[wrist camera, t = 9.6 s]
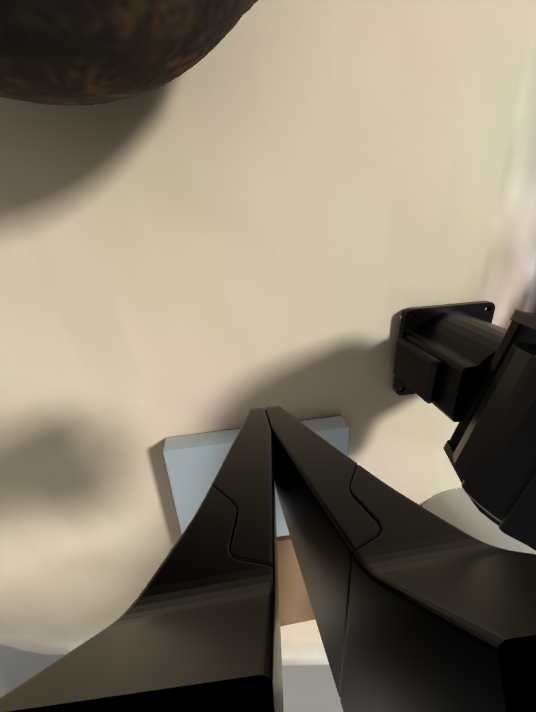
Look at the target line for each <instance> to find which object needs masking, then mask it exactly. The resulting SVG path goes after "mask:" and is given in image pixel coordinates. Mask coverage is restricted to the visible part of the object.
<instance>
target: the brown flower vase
mask: <svg viewBox="0 0 536 712" xmlns="http://www.w3.org/2000/svg"><path fill="white" fill-rule="evenodd" d="M257 1H258V0H0V97H5V98H10V99H16V100H22V101H28V102H34V103H42V104H50V105H93V104H98V103H108V102H112V101H117V100H122V99H126V98H130V97H133V96H136V95H141V94H143V93H146V92H148V91H150V90H153V89H155V88H157V87H160V86H162V85H164V84H166V83H168V82H170V81H171V80H173V79H175V78H177V77H179V76H180V75H181V74H183V73H184V72H186V71H187V70H189V69H190V68H191V67H193V66H194V65H195V64H197V63H198V62H199V61H200V60H201V59H202V58H204V57H205V56H206V55H207V54H208V53H209V52H210V51H211V50H212V49H213V48H214V47H215V46H216V45H217V44H218V43H219V42H220V41H221V40H222V39H223V38H224V37H225V36H226V35H227V34H228V33H229V32H230V31H231V30H232V29H233V27H234V26H235V25H236V23H237V22H238V21H239V20H240V18H241V17H242V15H243V14H245V13H246V12H247V11H248V10H249V9H250V8H251V7H252V6H253V4H254V3H256V2H257Z"/></svg>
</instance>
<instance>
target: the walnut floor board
mask: <svg viewBox="0 0 536 712" xmlns="http://www.w3.org/2000/svg"><path fill="white" fill-rule="evenodd" d="M277 554H278V580H279V606H280V626H284V625H289V624H294V623H299V622H304V621H309V620H314V619H315V616H314V613H313V609H312V606H311V603H310V600H309V596H308V593H307V590H306V587H305V583H304V580H303V577H302V573H301V570H300V567H299V564H298V560H297V557H296V554H295V551H294V547H293V544H292V541H291V538H290V535H286V536H280V537H277Z"/></svg>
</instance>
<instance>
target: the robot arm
mask: <svg viewBox="0 0 536 712" xmlns="http://www.w3.org/2000/svg"><path fill="white" fill-rule="evenodd" d="M486 307H487V309H486V310H485V308H486ZM494 310H495V305H494V304H493V303H492V302H489V301H479V302H468V303H457V304H445V305H434V306H423V307H412V308H407V309H406V310H404V312H403V313H402V318H401V326H400V334H399V340H398V341H397V346H396V354H395V363H394V371H393V373H394V374H395V375H394V384H393V390H394V392H396V393H397V394H398V395H407V394H417V395H419V396H420V397H421V398H422V399H423V400H424V401H425V402H427V403H433V404H434V405H435V406H436V407H437V408H438V409H439V410H441V411H442V412H443V413H444V414H445V415H446V416H448V417H449V418H450V419H451V420H452V421H453V422H459V424H458V425H457V427H456V429H455V431H454V433H453V435H452V437H451V439H450V440H448V441H447V442H446V444H445V446H444V450H445V452H446V454H447V456H448V458H449V460H450V462H451V464H452V465H453V467H454V469H455V471H456V473H457V475H458V477H459V479H460V481H461V483H462V487H463V489H464V491H465V493H466V494H467V495H468V496H469V498H470V499H471V501H472V502H473V504H474V505H475V506H476V507H477V508H478V510H479V511H480V512H481V513H482V514H484V515H485V516H486V517H487V518H489V519H490V520H491V521H492V522H494V523H495V524H497V525H498V526H499V529H500V530H501V531H502V532H503V533H504V534H506V535H508V536H510V537H512V538H514V539H516V540H518V541H520V542H521V543H523V544H525V545H527V546H529V547H531V548H532V549H534V550H535V551H536V314H533V313H528V312H524V311H520V310H515V311H514V313H513V315H512V317H511V319H510V320H512V322H511V324H510V326H509V328H508V330H507V329H505V328H502V327H499V326H497V325H494V324H492V319H493V314H494ZM411 313H412V317H411V318H408V317H409V315H410V314H411ZM402 386H403V387H402ZM400 387H402V388H401V389H400V390H399V388H400ZM275 488H276V491H277V495H278V498H279V502H280V505H281V508H282V511H283V515H284V518H285V521H286V524H287V528H288V531H289V534H290V538H291V541H292V544H293V547H294V551H295V554H296V557H297V560H298V564H299V567H300V570H301V573H302V577H303V580H304V583H305V587H306V590H307V593H308V596H309V600H310V603H311V606H312V609H313V613H314V616H315V619H316V622H317V626H318V629H319V632H320V636H321V639H322V642H323V645H324V649H325V652H326V655H327V658H328V662H329V665H330V668H331V671H332V675H333V678H334V681H335V685H336V688H337V691H338V694H339V696H340V698H341V704H342V708H343V711H344V712H536V554H531V553H524V552H516V551H510V550H506V549H502V548H498V547H495V546H492V545H489V544H487V543H484V542H482V541H480V540H478V539H476V538H474V537H472V536H470V535H469V534H467V533H465V532H463V531H462V530H460V529H458V528H457V527H455V526H453V525H452V524H450V523H448V522H447V521H445V520H443V519H442V518H440V517H438V516H437V515H435V514H433V513H432V512H430V511H428V510H427V509H425V508H423V507H422V506H420V505H418V504H417V503H415V502H413V501H412V500H410V499H409V498H407V497H405V496H404V495H402V494H401V493H399V492H397V491H396V490H394V489H393V488H391V487H390V486H388V485H387V484H385V483H384V482H382V481H381V480H379V479H378V478H376V477H375V476H374V475H372V474H371V473H369V472H368V471H367V470H365V469H364V468H363V467H361V466H360V465H357V463H356V462H354V461H353V460H352V459H350V458H349V457H348V456H346V455H345V454H344V453H342V452H341V451H339V450H338V449H337V448H335V447H334V446H333V445H331V444H330V443H329V442H327V441H326V440H325V439H323V438H322V437H321V436H319V435H318V434H316V433H315V432H314V431H312V430H311V429H310V428H308V427H307V426H306V425H304V424H303V423H302V422H300V421H299V420H298V419H296V418H295V417H294V416H292V415H291V414H289V413H288V412H287V411H285V410H284V409H283V408H281V407H280V406H274V407H267V408H266V409H264V408H258V409H251V410H250V411H249V413H248V415H247V417H246V418H245V420H244V422H243V424H242V426H241V428H240V430H239V432H238V434H237V436H236V438H235V440H234V442H233V444H232V446H231V448H230V449H229V451H228V453H227V455H226V457H225V459H224V461H223V463H222V465H221V467H220V469H219V471H218V473H217V475H216V477H215V479H214V480H213V482H212V484H211V487H210V488H209V490H208V492H207V494H206V496H205V498H204V500H203V501H202V503H201V505H200V507H199V508H198V510H197V512H196V514H195V515H194V517H193V519H192V520H191V522H190V523H189V525H188V526H187V528H186V529H185V531H184V532H183V534H182V535H181V537H180V538H179V540H178V541H177V543H176V544H175V545H174V547H173V548H172V550H171V551H170V553H169V554H168V556H167V557H166V558H165V560H164V561H163V563H162V564H161V566H160V567H159V568H158V570H157V571H156V573H155V574H154V576H153V577H152V579H151V580H150V581H149V583H148V584H147V586H146V587H145V589H144V590H143V591H142V593H141V594H140V596H139V597H138V598H137V599H136V601H135V602H134V603H133V604H132V605H131V607H130V608H129V609H128V610H127V611H126V612H125V613H124V614H123V615H122V616H121V617H120V618H119V619H118V620H116V621H115V622H114V623H113V624H112V625H110V626H109V627H107V628H106V629H104V630H103V631H101V632H100V633H98V634H97V635H95V636H94V637H92V638H91V639H89V640H88V641H86V642H84V643H83V644H81V645H80V646H78V647H77V648H75V649H74V650H72V651H71V652H69V653H68V654H66V655H65V656H63V657H62V658H60V659H58V660H57V661H56V662H54V663H52V664H51V665H49V666H48V667H46V668H45V669H43V670H42V671H40V672H39V673H37V674H36V675H34V676H33V677H31V678H29V679H28V680H26V681H25V682H24V683H22V684H20V685H19V686H18V687H16V688H14V689H13V690H11V691H10V692H8V693H6V694H5V695H3V696H2V697H0V712H283V684H282V658H281V632H280V606H279V580H278V554H277V528H276V502H275Z"/></svg>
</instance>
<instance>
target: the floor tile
mask: <svg viewBox="0 0 536 712" xmlns="http://www.w3.org/2000/svg"><path fill="white" fill-rule="evenodd" d="M300 422H302V423H303V424H304V425H306V426H307V427H308V428H310V429H311V430H312V431H314V432H315V433H316V434H318V435H319V436H321V437H322V438H323V439H325V440H326V441H327V442H329V443H330V444H331V445H333V446H334V447H335V448H337V449H338V450H339V451H341V452H342V453H344V454H345V455H346V456H348V442H349V426H348V424H347V423H346V421H345V419H344V418H343V416H334V417H326V418H319V419H311V420H303V421H300ZM239 430H240V428H239V429H231V430H223V431H215V432H207V433H199V434H191V435H183V436H176V437H168V438H166V441H165V445H164V450H163V454H164V458H165V462H166V467H167V471H168V476H169V480H170V485H171V489H172V494H173V498H174V502H175V507H176V511H177V516H178V520H179V525H180V529H181V534H183V532H184V531H185V529H186V528H187V526H188V525H189V523H190V522H191V520H192V519H193V517H194V515H195V514H196V512H197V510H198V508H199V507H200V505H201V503H202V501H203V500H204V498H205V496H206V494H207V492H208V490H209V488H210V487H211V484H212V482H213V480H214V479H215V477H216V475H217V473H218V471H219V469H220V467H221V465H222V463H223V461H224V459H225V457H226V455H227V453H228V451H229V449H230V448H231V446H232V444H233V442H234V440H235V438H236V436H237V434H238V432H239ZM275 502H276V528H277V537H280V536H286V535H290V534H289V531H288V528H287V524H286V521H285V518H284V515H283V511H282V508H281V505H280V502H279V498H278V495H277V491H276V488H275Z"/></svg>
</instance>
